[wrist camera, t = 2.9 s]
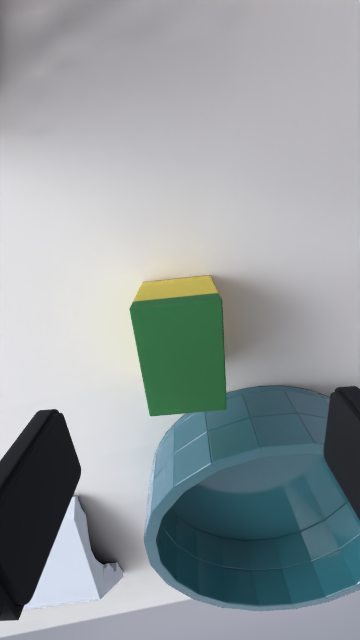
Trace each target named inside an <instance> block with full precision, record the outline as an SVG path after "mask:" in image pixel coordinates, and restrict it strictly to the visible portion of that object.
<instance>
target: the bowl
mask: <svg viewBox="0 0 360 640" xmlns="http://www.w3.org/2000/svg"><path fill="white" fill-rule="evenodd" d="M226 399H227V409H226V410H217V411H205V412H194V413H186V414H185V415H184V416H183V417H182V418H180V419H179V420H178V421H177V422H176V423H175V424H174V425H173V426H172V427H171V428H170V429H169V430H168V432H167V433H166V434H165V436H164V437H163V439H162V440H161V442H160V444H159V446H158V448H157V451H156V453H155V457H154V461H153V467H152V472H151V476H150V484H149V494H148V503H147V513H146V523H145V532H144V543H145V547H146V551H147V554H148V558H149V562H150V564H151V566H152V567H153V568H154V570H155V571H156V572H157V573H158V574H159V575H160V576H161V578H162V579H163V580H164V581H165V582H166V583H167V584H168V585H169V586H171V587H173V588H175V589H176V590H178V591H180V592H182V593H183V594H185V595H187V596H189V597H190V598H192V599H194V600H198V601H201V602H205V603H208V604H212V605H215V606H218V607H222V608H232V609H242V610H252V611H269V610H286V609H297V608H302V607H307V606H311V605H316V604H321V603H326V602H329V601H332V600H335V599H337V598H340V597H342V596H345V595H348V594H350V593H353V592H355V591H358V590H360V520H359V518H358V517H357V515H356V513H355V511H354V510H353V508H352V506H351V505H350V503H349V501H348V499H347V498H346V496H345V494H344V492H343V491H342V489H341V487H340V486H339V484H338V482H337V480H336V479H335V477H334V475H333V473H332V472H331V470H330V468H329V467H328V465H327V463H326V461H325V458H324V454H323V449H324V441H325V433H326V425H327V418H328V410H329V402H330V398H329V397H327V396H325V395H323V394H320V393H316V392H313V391H310V390H306V389H301V388H296V387H287V386H260V387H253V388H246V389H241V390H237V391H233V392H229V393H226Z"/></svg>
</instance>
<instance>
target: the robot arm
mask: <svg viewBox="0 0 360 640" xmlns="http://www.w3.org/2000/svg"><path fill="white" fill-rule="evenodd" d="M323 454H324V458H325V461H326V463H327V465H328V467H329V468H330V470H331V472H332V473H333V475H334V477H335V479H336V480H337V482H338V484H339V486H340V487H341V489H342V491H343V492H344V494H345V496H346V498H347V499H348V501H349V503H350V505H351V506H352V508H353V510H354V511H355V513H356V515H357V517H358V518H359V520H360V389H359V388H358V387H356V386H350V387H338V388H336V390H335V392H332V393H331V395H330V402H329V410H328V418H327V425H326V433H325V441H324V449H323ZM80 475H81V467H80V463H79V460H78V457H77V454H76V451H75V448H74V445H73V442H72V439H71V436H70V433H69V430H68V427H67V424H66V421H65V418H64V416H63V414H62V413H59V412H58V410H56V409H52V410H40V411H38V412H37V413H36V414H35V415H34V417H33V418H32V419H31V421H30V422H29V423H28V425H27V426H26V427H25V429H24V430H23V431H22V433H21V434H20V435H19V437H18V438H17V439H16V441H15V442H14V443H13V445H12V446H11V447H10V449H9V450H8V451H7V453H6V454H5V455H4V457H3V458H2V459H1V461H0V621H7V620H19V617H20V615H21V612H22V610H23V608H24V605H26V604H28V603H29V602H30V600H31V599H32V597H33V595H34V592H35V590H36V587H37V585H38V582H39V580H40V577H41V575H42V572H43V570H44V567H45V565H46V562H47V560H48V557H49V554H50V552H51V549H52V547H53V544H54V542H55V539H56V537H57V534H58V532H59V529H60V527H61V524H62V522H63V519H64V517H65V514H66V512H67V509H68V507H69V504H70V502H71V499H72V496H73V494H74V491H75V489H76V486H77V484H78V481H79V479H80Z"/></svg>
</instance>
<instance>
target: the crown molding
mask: <svg viewBox="0 0 360 640" xmlns="http://www.w3.org/2000/svg"><path fill="white" fill-rule="evenodd" d="M122 577H123V571H122V570H121V567H120V568H119V565H118V562H115V563H107V564H101V563H100V562H98V561H97V560H96V559H95V557H94V555H93V553H92V551H91V547H90V541H89V536H88V527H87V518H86V514H85V513H84V512H83V510H82V509H81V506H80V502H79V501H78V496H74V497H72V499H71V502H70V504H69V507H68V509H67V512H66V514H65V517H64V519H63V522H62V524H61V527H60V529H59V532H58V534H57V537H56V539H55V542H54V544H53V547H52V549H51V552H50V554H49V557H48V560H47V562H46V565H45V567H44V570H43V572H42V575H41V577H40V580H39V582H38V585H37V587H36V590H35V592H34V595H33V597H32V599H31V600H30V602H29V603H28V604H26V605H24V608H23V610H30V609H37V608H44V607H51V606H58V605H65V604H72V603H80V602H87V601H94V600H100V599H101V598H102V597H103V596H104V595H105V594H106V593H107V592H108V591H109V590H110V589H111V588H112V587H113V586H114V585H115V584H116V583H117V582H118V581H119V580H120V579H121V578H122ZM23 610H22V611H23Z"/></svg>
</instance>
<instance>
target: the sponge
mask: <svg viewBox="0 0 360 640" xmlns="http://www.w3.org/2000/svg"><path fill="white" fill-rule="evenodd" d="M130 314H131V320H132V325H133V330H134V335H135V341H136V346H137V351H138V356H139V361H140V367H141V372H142V377H143V382H144V388H145V393H146V398H147V403H148V409H149V414H150V416H159V415H171V414H182V413H194V412H205V411H217V410H226V409H227V399H226V377H225V355H224V333H223V311H222V299H221V297H220V295H219V293H218V291H217V289H216V287H215V284H214V282H213V280H212V278H211V276H210V275H207V276H197V277H188V278H178V279H169V280H159V281H150V282H143V283H142V285H141V287H140V289H139V291H138V293H137V295H136V297H135V299H134V301H133V303H132V305H131V307H130Z"/></svg>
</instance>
